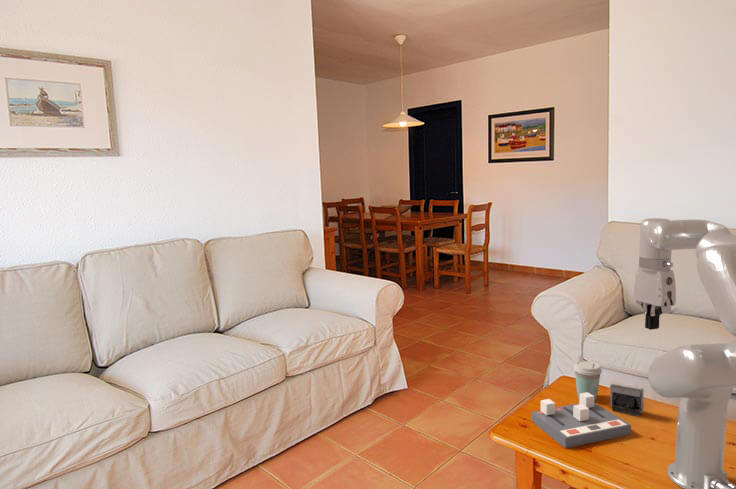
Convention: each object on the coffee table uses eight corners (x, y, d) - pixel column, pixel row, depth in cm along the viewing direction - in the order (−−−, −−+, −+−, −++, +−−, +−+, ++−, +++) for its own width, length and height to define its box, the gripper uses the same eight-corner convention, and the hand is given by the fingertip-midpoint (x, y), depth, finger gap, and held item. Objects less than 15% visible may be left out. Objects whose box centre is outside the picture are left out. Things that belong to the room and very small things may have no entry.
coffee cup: (590, 406, 156) (591, 371, 154) (567, 397, 163) (568, 363, 161) (606, 399, 160) (607, 365, 158) (583, 390, 167) (584, 358, 166)
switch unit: (630, 434, 138) (630, 424, 138) (565, 448, 133) (565, 437, 132) (591, 409, 154) (591, 400, 153) (531, 420, 148) (531, 411, 148)
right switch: (594, 406, 149) (594, 396, 148) (585, 408, 148) (586, 397, 148) (587, 402, 152) (587, 392, 151) (579, 404, 151) (579, 393, 151)
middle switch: (588, 419, 141) (588, 408, 141) (580, 421, 141) (580, 410, 140) (581, 415, 144) (581, 404, 144) (573, 416, 143) (573, 405, 143)
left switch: (555, 413, 145) (555, 403, 145) (546, 415, 145) (546, 404, 144) (548, 409, 148) (549, 398, 148) (540, 411, 148) (540, 400, 147)
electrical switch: (643, 412, 151) (644, 385, 149) (642, 420, 147) (643, 393, 145) (610, 405, 156) (610, 379, 154) (608, 413, 152) (608, 387, 150)
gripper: (690, 267, 124) (686, 334, 127) (643, 258, 139) (641, 319, 141) (667, 269, 123) (663, 338, 125) (622, 260, 137) (620, 322, 139)
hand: (651, 328), depth 133 cm, fingers closed
